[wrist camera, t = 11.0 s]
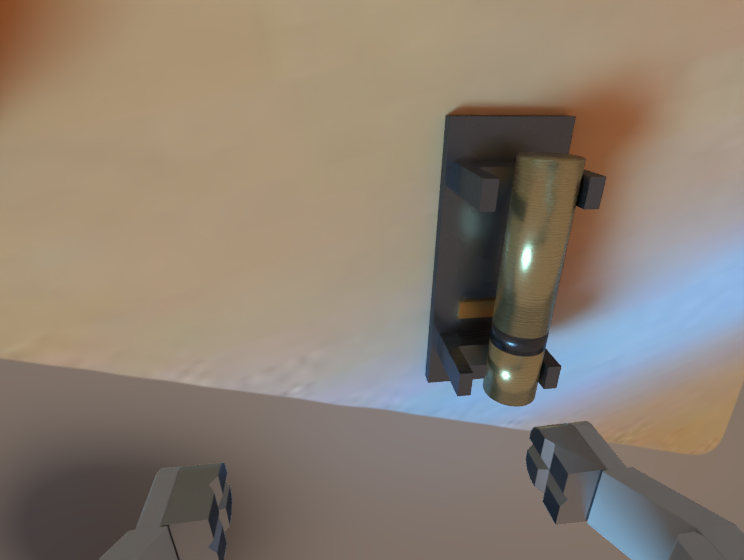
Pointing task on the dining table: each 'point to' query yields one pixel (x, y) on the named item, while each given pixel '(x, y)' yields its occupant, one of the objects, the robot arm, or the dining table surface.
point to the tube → (530, 272)
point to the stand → (483, 235)
